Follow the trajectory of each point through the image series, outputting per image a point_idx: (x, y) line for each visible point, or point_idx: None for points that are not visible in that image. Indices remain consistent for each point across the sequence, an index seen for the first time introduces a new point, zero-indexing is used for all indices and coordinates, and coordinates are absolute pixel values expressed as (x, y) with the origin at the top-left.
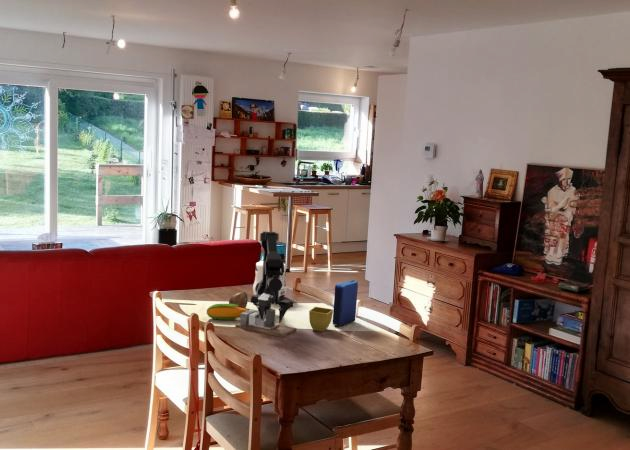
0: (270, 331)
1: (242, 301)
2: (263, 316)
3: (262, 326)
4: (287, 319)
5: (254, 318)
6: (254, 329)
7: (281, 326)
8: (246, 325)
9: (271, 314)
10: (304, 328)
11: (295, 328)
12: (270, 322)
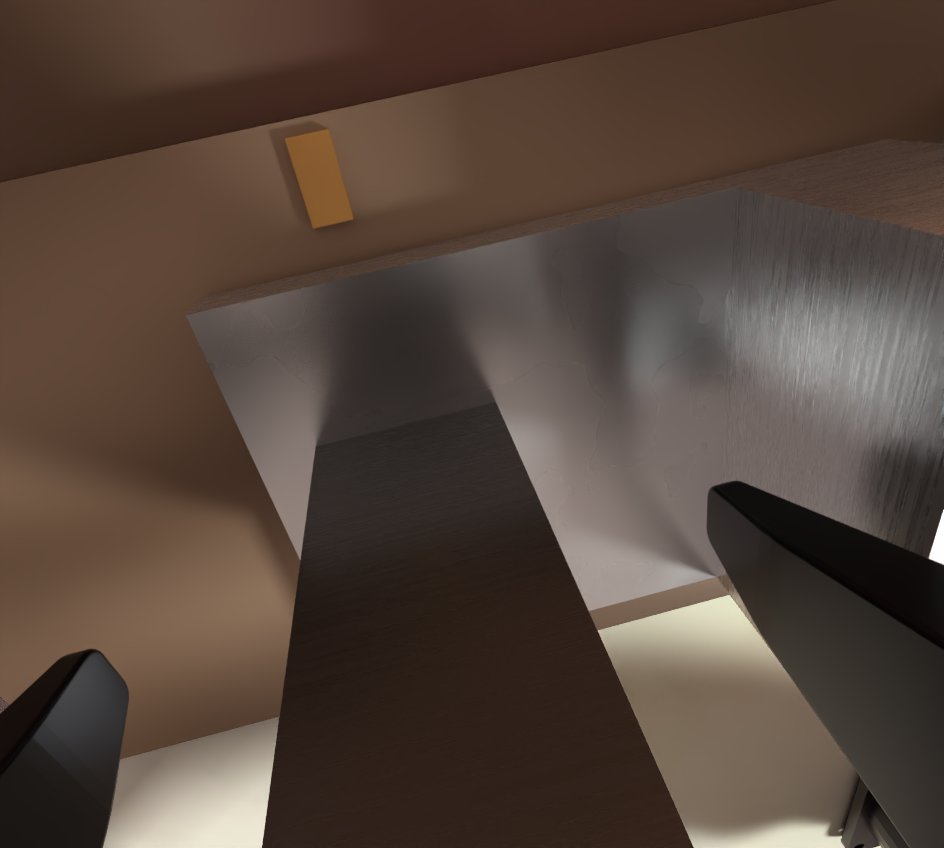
0: (107, 232)
1: None
2: None
3: (471, 261)
4: None
5: (911, 220)
6: (607, 52)
7: None
8: (939, 117)
9: (287, 791)
10: (129, 842)
11: None
12: (342, 506)
